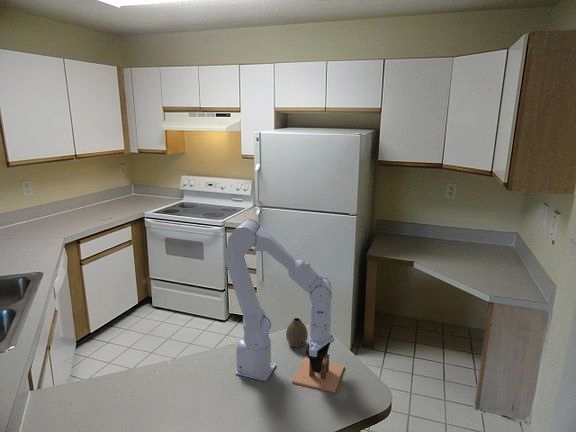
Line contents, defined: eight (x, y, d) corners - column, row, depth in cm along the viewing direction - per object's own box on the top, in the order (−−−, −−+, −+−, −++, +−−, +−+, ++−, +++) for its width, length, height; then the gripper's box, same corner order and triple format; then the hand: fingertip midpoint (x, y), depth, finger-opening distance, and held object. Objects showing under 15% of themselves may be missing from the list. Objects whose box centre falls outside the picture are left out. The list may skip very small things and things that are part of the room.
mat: (292, 383, 110) (292, 381, 109) (305, 359, 121) (305, 357, 120) (334, 392, 106) (335, 390, 106) (344, 367, 117) (344, 365, 117)
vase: (306, 338, 132) (306, 314, 130) (308, 350, 125) (308, 324, 123) (285, 338, 132) (285, 314, 130) (286, 350, 125) (286, 325, 123)
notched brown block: (324, 379, 110) (325, 363, 109) (309, 376, 112) (309, 360, 110) (328, 370, 114) (329, 354, 113) (313, 366, 116) (314, 351, 115)
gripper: (328, 337, 101) (326, 384, 105) (340, 312, 115) (338, 354, 118) (301, 332, 104) (301, 378, 107) (316, 308, 117) (315, 349, 120)
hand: (319, 365), depth 112 cm, fingers open, 5 cm apart
